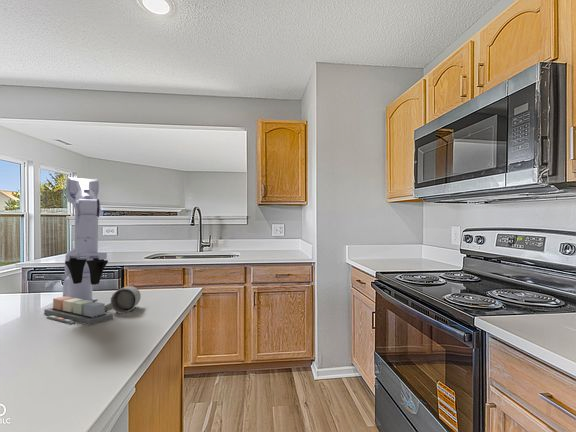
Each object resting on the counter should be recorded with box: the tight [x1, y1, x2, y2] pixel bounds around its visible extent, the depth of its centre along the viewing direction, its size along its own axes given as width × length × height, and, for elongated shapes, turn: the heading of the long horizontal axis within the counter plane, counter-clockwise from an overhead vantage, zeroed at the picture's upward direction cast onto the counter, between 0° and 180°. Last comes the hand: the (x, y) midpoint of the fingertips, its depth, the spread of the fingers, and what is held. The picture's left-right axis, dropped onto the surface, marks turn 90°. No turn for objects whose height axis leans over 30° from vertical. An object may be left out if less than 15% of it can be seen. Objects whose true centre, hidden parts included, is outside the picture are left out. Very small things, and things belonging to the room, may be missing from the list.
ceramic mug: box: [105, 285, 142, 314], centre depth 110 cm, size 11×8×8 cm
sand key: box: [63, 298, 83, 312], centre depth 103 cm, size 4×4×3 cm
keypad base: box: [43, 307, 114, 326], centre depth 102 cm, size 22×7×1 cm, turn 64°
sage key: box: [73, 300, 95, 315], centre depth 101 cm, size 4×4×3 cm
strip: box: [46, 315, 76, 325], centre depth 98 cm, size 12×1×1 cm, turn 64°
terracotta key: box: [52, 296, 73, 310], centre depth 106 cm, size 4×4×3 cm
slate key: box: [84, 301, 106, 318], centre depth 99 cm, size 4×4×3 cm
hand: (86, 283), depth 101 cm, fingers open, 7 cm apart
